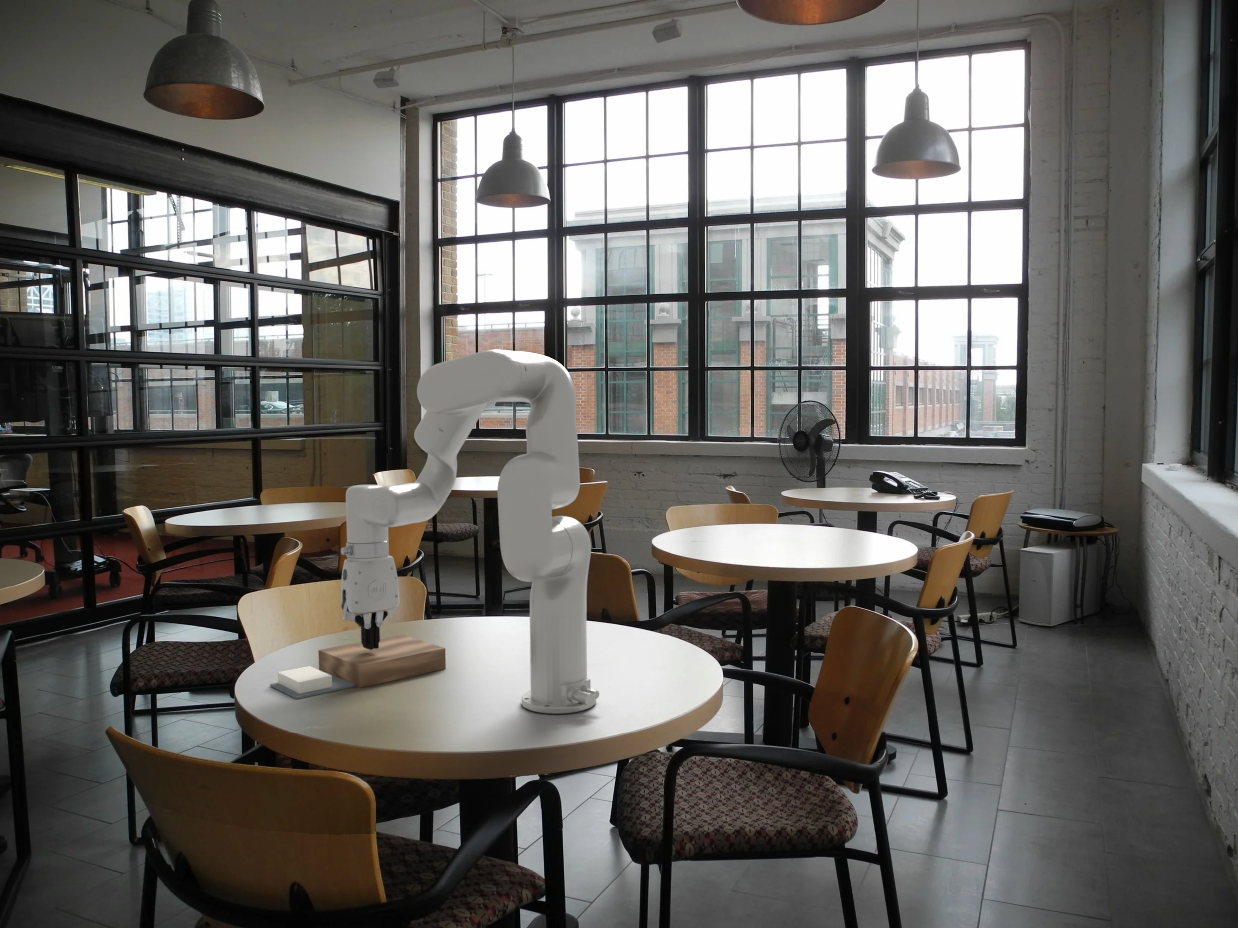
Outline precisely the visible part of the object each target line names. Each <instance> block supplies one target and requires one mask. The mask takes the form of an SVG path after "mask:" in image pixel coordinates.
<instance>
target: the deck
mask: <svg viewBox="0 0 1238 928" xmlns="http://www.w3.org/2000/svg"><path fill="white" fill-rule="evenodd" d="M446 663H447V662H446V647H443V646H439V645H436V644H433V643H430V642H428V641H424V640H420V639H418V638H414V637H411V636H408V635H405V634H398V635H396V634H395V635H392V636H387V637H380V642H379V648H377V649H375V648H374V649H372V650H369V649H366V648H364V647H363V645H362V643H361V641H360V642H359V641H358V642H355V643H350V644H343V645H338V646H334V647H333V646H332V647H327V648H322V649H318V670H320V671H322V672H325V673H326V672H327V673H329V674H331V675H334V676H336V677H339V678H341V679H343V680H346V681H348V682H351V683H353V684H355V687H357V688H360V689H362V688H366V687H370V686H375V685H378V684H383V683H388V682H392V681H396V680H403V679H406V678H411V677H414V676H419V675H424V674H428V673H432V672H437V671H442V670H446V666H447V665H446Z"/></svg>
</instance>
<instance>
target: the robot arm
mask: <svg viewBox="0 0 1238 928" xmlns="http://www.w3.org/2000/svg"><path fill="white" fill-rule="evenodd" d="M416 395H417V399H418V402H419V404H420V406H421V407H422V408H423V409H424V410H425V413H424V415H423V416H422V418H421V420H420V422H419V423H418V425H417V427H416V428H415V429H414V431H413V432H414V434H413V436H414V440H415V442H416V444H417V445H418V447H420V449H421V450H423V451H424V452H425V453H426V454H427V459H426V463H425V464H424V466H423V467H422V468H423V469H422V470H421V472H420V473H419V475H418V477H417V478H416V480H415V482H408V483H400V484H392V485H385V486H384V485H380V484H357V485H351V486H350V487H348V488H347V489H346V490H345V491H346V492H345V514H346V515H345V516H346V517H345V519H346V521H345V522H346V543H345V547H341V548H340V554H341V555H342V556H343V555H346V558H347V559H344V561H343V565H342V571H341V578H340V580H341V582H340V606H341V610H342V615H341V619H342V620H343V621H347V622H354V623H355V624H356V625H357V626H358V627H360V636H361V637H360V642H361V643H362V645H363V647H364V648H366V649H369V650H372V649H374V648H375V649H377V648H379V642H380V638H381V632H380V631H381V630H380V627H382V626H383V622H384V621H385V619H386V618H387V616H390V615H393V614H394V613H396V612H397V610H398V609H397V608H398V607H399V604H400V587H399V577H398V573H397V572H398V571H397V568H396V567H397V566H396V563H395V559H394V557H393V556H392V555H390V551H389V546H390V545H389V528H394V527H400V526H401V527H402V526H406V525H412V524H417V523H422V522H425V521H429V520H430V519H432V518H433V517H434V516H435V515H436V514H438V512H439V511H440V509H441V508H442V507H443V505H444V504H445V502H446V500H447V499H448V497H449V495H450V493H451V492H452V490H453V488H454V485H455V483H456V478H457V471H458V460H457V459H458V458H457V456H458V454H459V452H460V450H461V449H462V446H463V445H464V444H465V442H466V440H467V439H468V437H469V435H470V434H471V431H472V430H473V429H474V426H475V425H476V424H477V422H478V420H479V419H480V417H481V416H482V414H483V412H484V410H485V409H486V408H487V405H488V404H492V403H502V402H503V403H519V402H521V403H527V404H529V405H530V410H529V412H528V416H527V419H526V426H525V436H526V437H525V438H526V453H525V454H523V453H522V454H520V455H516V456H515V457H512V459H510V460H509V461H508V462H507V463H506V464H505V466H504V467H503V468H502V470H501V472H500V475H499V478H498V482H497V509H498V527H499V528H498V529H499V530H498V531H499V543H500V545H499V548H500V553H501V559H502V562H503V564H504V566H505V568H506V570H507V571H508V572H509V574H510V575H511V576H512V577H513V578H515V579H517V580H519V581H521V582H527V583H532V584H531V587H530V594H529V657H530V658H529V660H530V661H529V665H530V667H529V669H530V675H529V676H530V690H528V691H526V692H525V693H524V694H523V695H522V696H521V705H522V706H523V708H525V709H526V710H529V711H532V712H536V713H540V714H541V713H542V714H553V715H555V714H556V715H559V714H560V715H561V714H571V713H577V712H581V711H585V710H588V709H590V708H592V707H593V706H595V705H596V703H597V700H598V698H599V696H600V692H599V690H596V689H593V688H591V687H592V686H591V678H589V677H588V660H587V658H588V654H587V653H588V652H587V649H588V648H587V644H588V643H587V642H588V641H587V634H588V633H587V610H588V609H587V595H588V593H587V591H588V588H587V587H588V577H589V576H588V575H589V569H590V561H591V556H592V555H591V554H592V543H591V538H590V535H589V532H588V530H587V529H586V527H585V526H584V525H583V524H582V523H581V522H580V521H578V520H577V519H576V518H574V517H571V516H567V515H565V516H564V515H555V516H553V510H556V509H560V508H564V507H567V506H569V505H570V504H571V503H573V502H574V501H576V499H577V497H578V495H579V492H580V488H581V477H580V461H579V459H580V458H579V443H578V442H579V441H578V440H579V439H578V430H577V429H578V428H577V394H576V387H575V384H574V381H573V378H572V376H571V375H570V373H569V371H568V370H567V369H566V368H565V367H564V366H563V365H562V364H561V363H560V362H558V361H557V360H555V359H553V358H551V357H549V356H546V355H543V354H539V353H535V352H529V351H522V350H519V351H518V350H509V349H508V350H507V349H487V350H483V351H479V352H474V353H472V354H468V355H465V356H461V357H457V358H454V359H450V360H446V361H442V362H438V363H436V364H434V365H432V366H430V367H428V369H426V370H425V371H424V372H423V373H422V375H421V377H420V378H419V380H418V383H417V387H416Z"/></svg>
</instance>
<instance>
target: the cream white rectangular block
mask: <svg viewBox="0 0 1238 928" xmlns="http://www.w3.org/2000/svg"><path fill="white" fill-rule="evenodd" d="M277 682H278V683H279V684H281V685H283V686H285V687H287V688H289V689H291V690H293V691H295V692H297V693H299V694H300V693H305V692H310V691H314V690H319V689H324V688H328V687H332V676H331V675H329V674H327V673H325V672H322V671H320V670H319V668H318V669H317V668H315V667H313V666H310V665H308V666H304V667H303V666H302V667H299V668H293V669H292V668H291V669H287V670H282V671H277Z"/></svg>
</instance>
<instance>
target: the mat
mask: <svg viewBox="0 0 1238 928" xmlns="http://www.w3.org/2000/svg"><path fill="white" fill-rule="evenodd" d="M326 673H327V672H326ZM327 674H329V673H327ZM329 675H331V674H329ZM331 676H332V687H328V688H324V689H319V690H314V691H310V692H305V693H300V694H299V693H297V692H295V691H293V690H291V689H289V688H287V687H285V686H283V685H281V684H279V683H278V681H277V682H273V683H270V684H269V687H270V688H274V689H275V690H278V691H280V692H282V693H284V694H286V695H287V696H289V697H292V698H294V699H296V700H300V699H305V698H309V697H314V696H317V695H322V694H327V693H330V692H335V691H339V690H346V689H349V688H354V687H356V686H355V684H353V683H351V682H348V681H346V680H343V679H341V678H339V677H336V676H334V675H331Z"/></svg>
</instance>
